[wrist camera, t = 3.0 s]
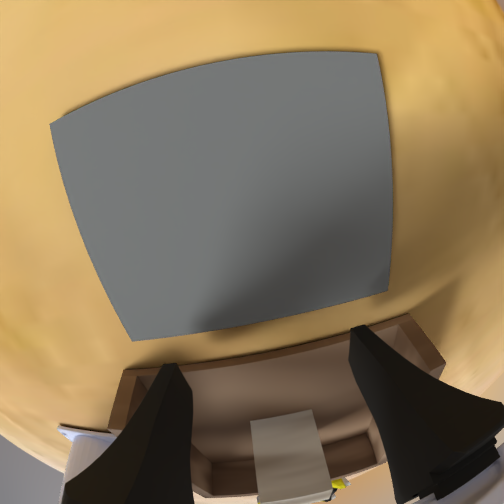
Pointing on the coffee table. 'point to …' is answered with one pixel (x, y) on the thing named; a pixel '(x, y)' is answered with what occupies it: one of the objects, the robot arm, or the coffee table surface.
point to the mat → (234, 190)
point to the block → (290, 460)
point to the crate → (279, 405)
